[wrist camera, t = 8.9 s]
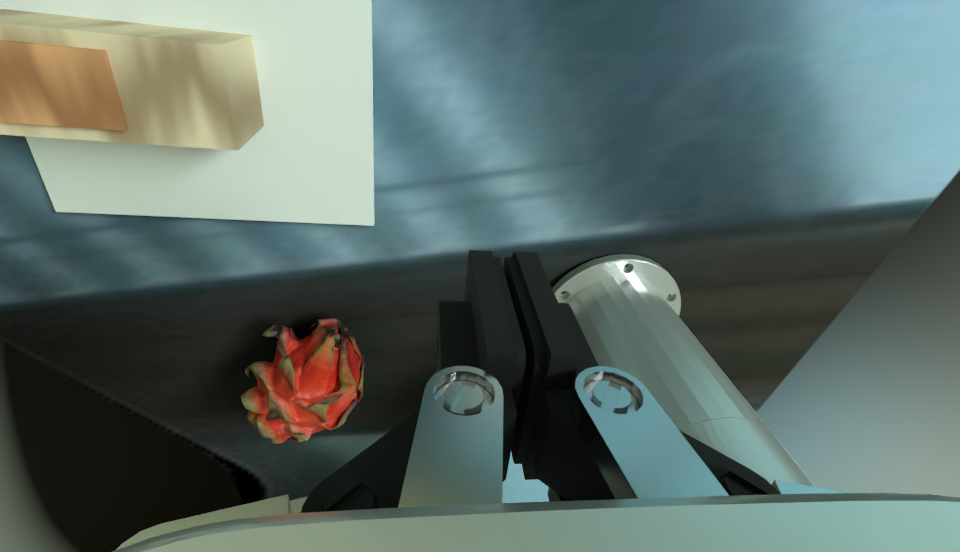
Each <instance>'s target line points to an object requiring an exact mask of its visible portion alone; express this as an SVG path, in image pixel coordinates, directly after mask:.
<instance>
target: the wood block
mask: <svg viewBox="0 0 960 552" xmlns="http://www.w3.org/2000/svg"><path fill="white" fill-rule="evenodd" d="M263 127H264V121H263V114H262V106H261V99H260V91H259V84H258V76H257V69H256V62H255V54H254V47H253V39H252V35H245V34H236V33H226V32H217V31H207V30H198V29H188V28H179V27H169V26H160V25H150V24H141V23H132V22H122V21H113V20H103V19H94V18H84V17H75V16H65V15H56V14H46V13H37V12H28V11H18V10H9V9H0V135H15V136H29V137H44V138H59V139H74V140H89V141H104V142H119V143H134V144H149V145H164V146H179V147H194V148H209V149H223V150H239V149H240V148H242V147H243V146H244V145H245V144H246V143H247V142H248V141H249V140H250V139H251V138H252V137H253V136H254V135H255V134H256V133H257V132H258V131H259V130H260V129H261V128H263Z"/></svg>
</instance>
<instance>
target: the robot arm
mask: <svg viewBox="0 0 960 552" xmlns="http://www.w3.org/2000/svg"><path fill="white" fill-rule="evenodd" d="M680 308H681V297H680V291H679V289H678V286H677V284H676V282H675V280H674V279H673V278H672V277H671V275H670V274H669V273H668V272H667V271H666V270H665V269H664V268H663V267H662V266H661V265H660V264H658V263H656V262H654V261H652V260H651V259H648V258H645V257H641V256H638V255H628V254H619V255H609V256H605V257H601V258H597V259H594V260H591V261H589V262H587V263H584V264H582V265H580V266H579V267H577V268H575V269H574V270H572V271H570V272H569V273H567V274H566V275H565V276H564V277H563V278H562V279H561V280H559V281H558V282H557V283H556V284H555V286H554V287H553V288H552V287H551V285H550V283H549V280H548V278H547V276H546V274H545V271H544V269H543V267H542V264H541V262H540V260H539V258H538V255H537V254H536V253H530V252H514V253H513V255H512V257H506V258H505V260H504V267H502V263H501V260H500V257H493V254H492V251H474V250H469V254H468V265H467V276H466V288H465V300H464V301H449V300H439V301H438V313H437V335H436V373H435V374H434V375H433V376H432V377H431V378H430V379H429V380H428V383H427V385H426V387H425V390H424V395H423V399H422V404H421V408H420V409H419V410H418V411H417V412H415V413H414V414H413V415H411V416H410V417H409V418H407V419H406V420H405V421H403V422H402V423H400V424H399V425H398V426H396V427H395V428H394V429H392V430H391V431H390V432H388V433H387V434H386V435H384V436H383V437H382V438H380V439H379V440H378V441H376V442H375V443H373V444H372V445H371V446H369V447H368V448H367V449H365V450H364V451H363V452H361V453H360V454H359V455H357V456H356V457H355V458H353V459H352V460H351V461H349V462H348V463H346V464H345V465H344V466H342V467H341V468H340V469H338V470H337V471H336V472H334V473H333V474H332V475H330V476H329V477H328V478H326V479H325V480H324V481H322V482H321V483H320V484H319V485H318V486H317V487H316V488H315V489H314V490H313V491H312V492H311V493H310V494H309V496H308V497H303V498H299V499H295V500H291V501H289V497H288V494H287V495H283V496H279V497H274V498H270V499H266V500H261V501H257V502H253V503H248V504H244V505H240V506H235V507H231V508H227V509H223V510H218V511H214V512H210V513H205V514H201V515H197V516H193V517H188V518H184V519H179V520H176V521H171V522H167V523H162V524H159V525H156V526H153V527H151V528H148V529H145V530H143V531H140V532H139V533H138V534H136V535H134V536H133V537H131V538H130V539H129V540H127V541H125V542H124V543H123V544H121V545H120V546H119V548H117V550H116V551H113V552H960V498H959V497H950V496H941V495H931V494H901V493H846V492H841V491H835V490H829V489H824V488H818V487H816V485H815V484H814V483H813V482H812V481H811V479H810V478H809V477H808V476H807V475H806V474H805V472H804V471H803V470H802V469H801V468H800V466H799V465H798V464H797V463H796V462H795V460H794V459H793V458H792V457H791V455H790V454H789V453H788V452H787V451H786V449H785V448H784V447H783V446H782V444H781V443H780V442H779V441H778V439H777V438H776V437H775V436H774V434H773V433H772V432H771V431H770V430H769V428H768V427H767V426H766V425H765V424H764V422H763V421H762V420H761V418H760V417H759V416H758V415H757V413H756V412H755V411H754V410H753V408H752V407H751V406H750V405H749V404H748V402H747V401H746V400H745V399H744V397H743V396H742V395H741V394H740V392H739V391H738V390H737V389H736V387H735V386H734V385H733V384H732V382H731V381H730V380H729V379H728V377H727V376H726V375H725V374H724V372H723V371H722V370H721V369H720V367H719V366H718V365H717V364H716V362H715V361H714V360H713V359H712V357H711V356H710V355H709V354H708V352H707V351H706V350H705V349H704V347H703V346H702V345H701V344H700V342H699V341H698V340H697V339H696V337H695V336H694V335H693V334H692V332H691V331H690V330H689V329H688V327H687V326H686V325H685V324H684V322H683V321H682V320H681V319H680V317H679V314H680ZM511 451H512V457H513V461H514V463H515V464H522V467H523V472H524V477H525V480H528V479H539V480H540V481H542V482H543V483H544V484H546V485H547V486H548V497H549V502H527V503H502V482H503V481H504V480H505V479H506V475H507V469H508V463H509V458H510V452H511Z"/></svg>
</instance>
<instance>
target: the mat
mask: <svg viewBox="0 0 960 552" xmlns="http://www.w3.org/2000/svg"><path fill="white" fill-rule="evenodd" d="M0 9H9V10H18V11H28V12H37V13H46V14H56V15H65V16H75V17H84V18H94V19H103V20H113V21H122V22H132V23H141V24H150V25H160V26H169V27H179V28H188V29H198V30H207V31H217V32H226V33H236V34H245V35H252V39H253V47H254V54H255V62H256V69H257V76H258V84H259V91H260V99H261V106H262V114H263V121H264V127H263V128H261V129H260V130H259V131H258V132H257V133H256V134H255V135H254V136H253V137H252V138H251V139H250V140H249V141H248V142H247V143H246V144H245V145H244V146H243V147H242V148H240V149H239V150H223V149H209V148H194V147H179V146H164V145H149V144H134V143H119V142H104V141H89V140H74V139H59V138H44V137H29V136H25V137H26V140H27V142H28V145H29V147H30V150H31V152H32V155H33V157H34V159H35V162H36V164H37V167H38V169H39V172H40V174H41V177H42V179H43V182H44V184H45V186H46V189H47V191H48V194H49V196H50V199H51V201H52V204H53V206H54V209H55V211H56V212H73V213H96V214H119V215H141V216H164V217H187V218H210V219H232V220H255V221H278V222H300V223H323V224H346V225H369V226H374V144H373V60H372V0H0Z"/></svg>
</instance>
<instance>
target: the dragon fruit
mask: <svg viewBox="0 0 960 552" xmlns="http://www.w3.org/2000/svg"><path fill="white" fill-rule="evenodd" d="M316 321H317V323H315V324H314V325H312V326H311V328H310V329H309V330H312V329H313V328H314V331H313V332H312V333H311V335H310V336H307V337H305V338H303V339H299V338H298V337H297V336H295V334H294V333H293V330H292V328H291V327H289V328H287V327H285V326H283V325H273V326H272V327H270V328H269V329H267V330H266V331H265V332H264V333H263V334H262V335H263V336H266V337H276V338H278V339H279V340H277V345H276V351H275V357H274V360H273V362H268V361H258V362H254V363H252V364H251V365H250V366H248V367H247V368H245V373H246V375H247V376H248V377H250V376H251V372H253V374H254V375H255V377H256V379H257V381H258V383H257V384H258V385H257V386H256V387H253V388H251V389H249V390H248V391H246V392H245V393H243V394H242V395H241V401H242V404H243V405H244V407H245V408H246V409H247V410H249V411H248V413H247V419H248V421H249V422H250V423H251V424H252V425H254V427H256V429H257V430H258V432H259V434H260V435H261V436H263V437H265V438H270V439H271V442H270V443H271V444H278V443H282V442H284V441H285V440H286V439H291V440H293V441H295V442H302V441H307V440H309V438H310V436H311V435H312V434H313V433H316V432H319V431H322V430H324V429H327V430H333V429H335V428H338V427H340V426H341V425H343V424H344V423H345V421H346V418H347V416H348V415H349V413H350V412H351V410H352V409H353V408H354V407H355V406H356V404H357V403H358V402H359V401H360V399H361V397H362V395H363V375H364V368H363V365H364V366H365V356H364V354H362V356H361V354H360V351H359V349H358V346H357V345H356V343H355V339H354V336H353V335H352V333H350V332H349V331H348V329H346V327H345V326H344V325H343V324H342V323H341V322H340V320H337V319H336V318H332V319H317V320H316ZM338 327H339V329H340V331H341V332H340V333H338ZM361 364H362V365H361Z"/></svg>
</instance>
